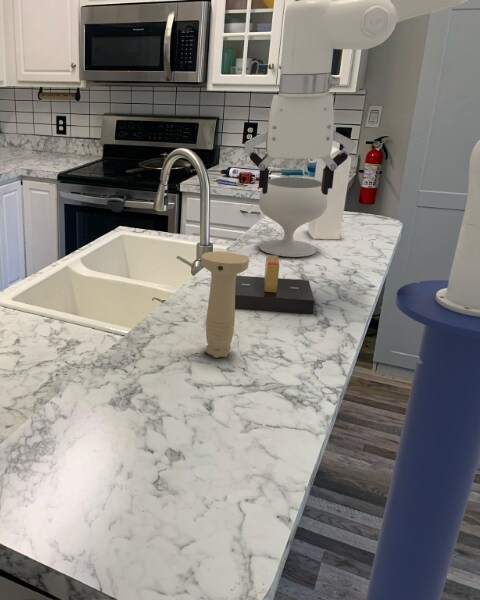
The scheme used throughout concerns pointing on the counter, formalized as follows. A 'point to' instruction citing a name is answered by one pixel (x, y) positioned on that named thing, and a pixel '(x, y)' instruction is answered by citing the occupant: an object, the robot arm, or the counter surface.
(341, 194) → the milk
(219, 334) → the handle
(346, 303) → the counter surface
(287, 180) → the chalice
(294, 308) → the plate
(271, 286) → the tan square block
